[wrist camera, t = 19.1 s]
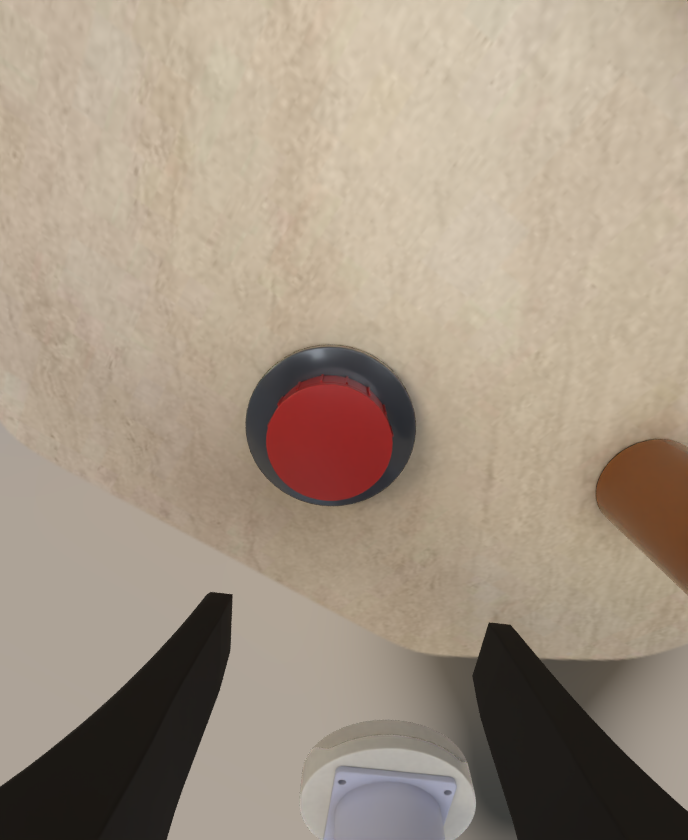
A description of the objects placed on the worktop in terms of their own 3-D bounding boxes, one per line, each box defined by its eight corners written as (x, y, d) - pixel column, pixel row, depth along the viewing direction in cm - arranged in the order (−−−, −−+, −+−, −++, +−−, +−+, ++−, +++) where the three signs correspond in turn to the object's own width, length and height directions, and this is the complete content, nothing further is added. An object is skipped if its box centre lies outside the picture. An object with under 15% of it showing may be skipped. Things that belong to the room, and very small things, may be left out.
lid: (336, 348, 18) (335, 355, 16) (414, 438, 19) (419, 452, 18) (247, 425, 19) (238, 438, 18) (325, 504, 20) (323, 523, 19)
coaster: (399, 508, 21) (400, 515, 21) (244, 490, 21) (241, 496, 20) (428, 356, 19) (431, 359, 18) (252, 333, 18) (249, 335, 18)
